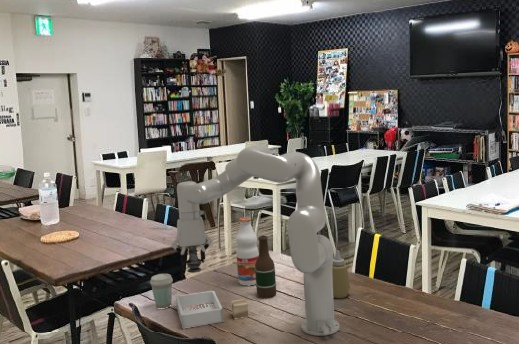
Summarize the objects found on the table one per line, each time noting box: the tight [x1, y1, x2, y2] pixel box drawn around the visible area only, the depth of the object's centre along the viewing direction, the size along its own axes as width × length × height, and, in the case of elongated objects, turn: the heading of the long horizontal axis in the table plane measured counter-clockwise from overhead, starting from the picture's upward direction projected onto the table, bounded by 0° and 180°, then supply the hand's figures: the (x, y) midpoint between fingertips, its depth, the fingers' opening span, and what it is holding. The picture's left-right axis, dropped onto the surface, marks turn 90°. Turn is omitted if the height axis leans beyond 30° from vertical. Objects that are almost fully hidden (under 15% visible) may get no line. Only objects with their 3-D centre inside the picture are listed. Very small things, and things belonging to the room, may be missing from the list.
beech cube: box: [230, 298, 249, 319], centre depth 193 cm, size 5×5×5 cm
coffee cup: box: [149, 273, 174, 309], centre depth 205 cm, size 8×8×12 cm
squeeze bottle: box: [332, 249, 351, 299], centre depth 204 cm, size 8×8×18 cm
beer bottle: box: [255, 235, 277, 300], centre depth 209 cm, size 8×8×24 cm
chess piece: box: [186, 246, 203, 274], centre depth 197 cm, size 6×6×12 cm
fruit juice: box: [235, 216, 259, 286], centre depth 225 cm, size 9×9×28 cm
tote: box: [175, 289, 225, 328], centre depth 195 cm, size 20×15×5 cm
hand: (193, 262), depth 198 cm, fingers closed on chess piece, 5 cm apart
